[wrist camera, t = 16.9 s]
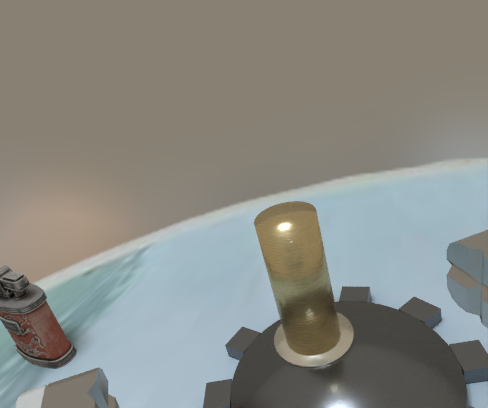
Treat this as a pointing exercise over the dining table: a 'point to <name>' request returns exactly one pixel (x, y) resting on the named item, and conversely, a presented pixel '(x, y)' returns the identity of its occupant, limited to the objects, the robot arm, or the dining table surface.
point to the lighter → (32, 322)
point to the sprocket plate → (354, 363)
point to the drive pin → (299, 276)
